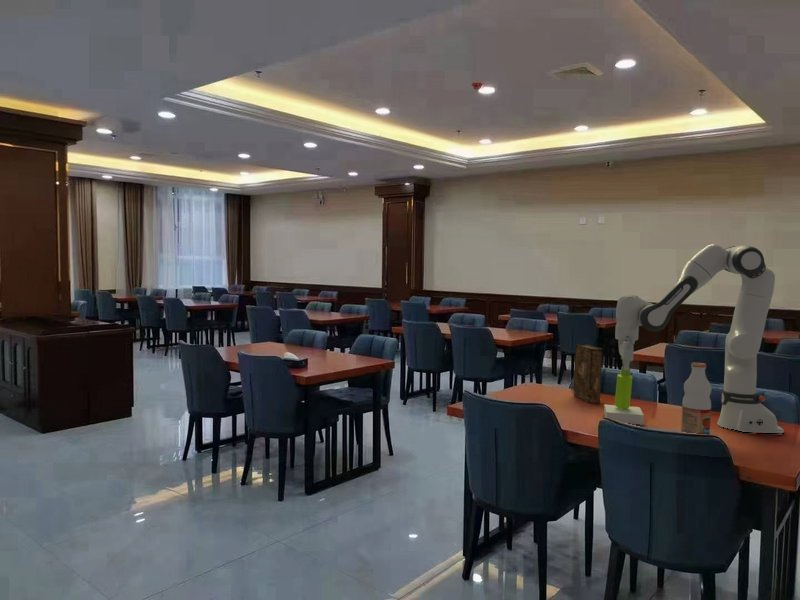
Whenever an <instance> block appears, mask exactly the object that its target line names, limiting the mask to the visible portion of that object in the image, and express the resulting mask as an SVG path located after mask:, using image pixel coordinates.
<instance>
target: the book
mask: <svg viewBox="0 0 800 600" xmlns="http://www.w3.org/2000/svg"><path fill="white" fill-rule="evenodd" d="M574 355H575V356H574V376H573V377H574V378H573V379H574V380H573V396H574V397H576V398H578V397H579V398H578V399H580V398H581V399H580V400H582V399H583V400H582V401H584V400H585V401H584V402H586V401H587V402H586V403H588V402H589V403H588V404H593V403H597V404H601V384H602V383H601V382H602V365H603V364H602V362H603V361H602V359H603V348H601V347H597V346H593V345H590V344H584V345H583V344H575V353H574Z"/></svg>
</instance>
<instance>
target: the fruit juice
mask: <svg viewBox="0 0 800 600" xmlns="http://www.w3.org/2000/svg"><path fill="white" fill-rule="evenodd" d="M690 368H691V372H690V375H689V377H688V378H687V379H686V380H685V382H684V383H683V391H684V395H683V398H682V403H681V406H682V407H681V427H680V433H681V432H686V433H696V434H707V435H710V434H711V418H712V417H711V415H712V400H711V398H710V397H711V394H712V384H711V383H710V381H709V380H708V378H707V375H706V369H707V364H706V363H703V362H695V361H694V362H691V364H690Z"/></svg>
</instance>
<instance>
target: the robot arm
mask: <svg viewBox="0 0 800 600" xmlns="http://www.w3.org/2000/svg"><path fill="white" fill-rule="evenodd" d="M723 270H724V271H726V272H729V273H732V274H734V275H735V274H737V275H740V277H741V286H740V290H739V293H738V297H737V301H736V304H735V308H734V311H733V316H732V322H731V325H730V330H729V332H728V333H727V335H726V337H725V347H724V375H723V376H724V379H723V381H724V382H723V389H722V391H721V404H722V405H721V411H720V413H719V414H720V415H719V418H718V419H717V420H718V421H717V424H716V425H717V426H718V427H721V428H723V427H724V429H727V428H728V429H727V430H731V429H734V430H733V431H735V430H738V431H742V432H762V433H783V432H785V431H784V430H785V429H783V428H782V427H781V426H779V425H778V420H777V417H776V415H775V414H774V413H773V412H772V411H771V410H770V409H768V408H767V407H766V406H764V404H762V402H765V401H766V398H765V396H764V395H760V394H759V393H757V391H756V390H757V380H758V379H757V378H758V377H757V376H758V375H757V374H758V370H757V369H758V368H757V367H758V365H757V363H758V361H757V360H758V359H757V357H758V352H760V348H761V344H762V339H763V336H764V331H765V326H766V323H767V322H766V320H767V317H768V313H769V309H770V306H771V302H772V298H773V295H774V290H775V283H776V282H775V281H776V278H775V277H776V274H775V273H774V271H773V270H771V269H769V268H768V267H767V266H766V263H765V258H764V254H763V253H762V252H761V250H759V249H758V248H756V247H754V246H749V245H735V246H729V247H726V248H724V247H722V246H720V245H718V244H715V243H713V244H712V243H711V244H708V245H706V246H704V247H703V248H702V249H700V250H699V251H697V252H696V253H694V255H693V256H691V257H690V258H689V259H688V260H687V261H686V262H685V263H684V264H683V266H682V267H681V268H680V270H678V272H677V279H676V281H675V282H676V283H675V284H674V286H673V287H672V288H671V289H670V290H669V291H668V293H666V295H664V296H663V297H662V298H661V300H659V301H658V302H656V303H655V304H654V303H650V302H648V301H646V300H644V299H642V298H641V297H639V296H638V295H635V294H633V295H632V294H631V295H624V296H621V297H620V298H619V299H618V300H617V304H616V308H615V309H616V311H615V319H616V324H615V332H614V334H615V335H614V336H615V337H614V339H615V340H617V343H618V353H619V355H620V358H623V360H622V359H621V360H622V366H621V367H623V366H624V370H629V367H630V363H631V362H633V361H634V345H635V344H636V343H635V342H636V341H638V340H639V331H640V329H639V327H643V329H645V330H647V331H649V332H653V333H654V332H656V333H657V332H660V331H662V330H664V329H665V328H666V326H667V325H668V324H669V321H670V318H671V316H672V315H673V314H674V312H675V311H676V310H677V309H678V308H679V307H680V306H681V305H682V304H683V303H684V302H685V300H687V299H688V298H689V297H690V296H691V295H693V294H694V293H695V292H697V291H698V290H699V289H701V288H702V287H704V286H705V285H706V284H708V283H709V282H710V281H711V280H712V279H713V278H714V277H715V276H716V275H717V274H718V273H719V272H721V271H723ZM738 431H737V432H738ZM742 432H741V433H742Z"/></svg>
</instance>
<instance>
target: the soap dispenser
mask: <svg viewBox="0 0 800 600" xmlns="http://www.w3.org/2000/svg"><path fill="white" fill-rule="evenodd" d="M620 360H623V358H622V357H620ZM633 377H634V376H633V375H631V367H630V366H629V370H624V366H621V368H620V373H618V374H617V375H616V385H615V395H614V405H615V406H616V407H618V408H623V409H627V408H629V407H630V406H631V397H632V387H633Z"/></svg>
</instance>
